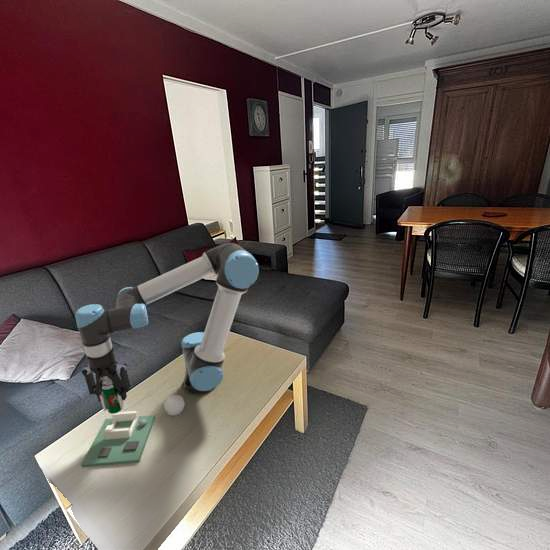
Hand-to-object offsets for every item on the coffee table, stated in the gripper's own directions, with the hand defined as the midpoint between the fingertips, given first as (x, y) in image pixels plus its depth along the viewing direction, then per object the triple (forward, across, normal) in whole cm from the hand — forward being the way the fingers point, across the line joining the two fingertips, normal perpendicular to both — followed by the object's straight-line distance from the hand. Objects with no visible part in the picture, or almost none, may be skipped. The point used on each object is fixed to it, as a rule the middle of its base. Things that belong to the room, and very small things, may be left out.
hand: (115, 406), depth 105 cm
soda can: (+1, 0, 0) cm, 1 cm away
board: (+11, -1, +4) cm, 12 cm away
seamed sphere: (+12, -16, -7) cm, 21 cm away
